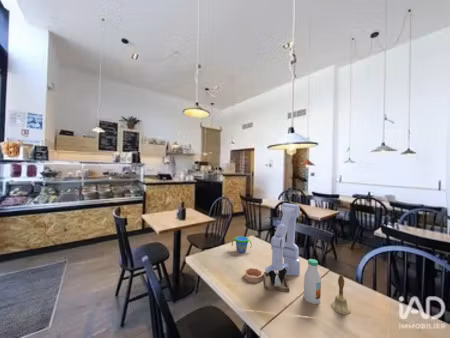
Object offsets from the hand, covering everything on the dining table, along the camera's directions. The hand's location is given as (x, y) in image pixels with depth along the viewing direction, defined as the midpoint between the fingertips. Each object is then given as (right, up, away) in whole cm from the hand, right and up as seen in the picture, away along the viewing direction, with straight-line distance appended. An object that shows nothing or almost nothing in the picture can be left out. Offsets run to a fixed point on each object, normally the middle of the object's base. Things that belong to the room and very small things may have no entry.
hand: (276, 282), depth 111 cm
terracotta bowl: (-12, -3, +9) cm, 15 cm away
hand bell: (+27, -4, -15) cm, 31 cm away
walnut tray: (0, -3, +4) cm, 5 cm away
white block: (0, -2, 0) cm, 2 cm away
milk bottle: (+15, -4, -10) cm, 18 cm away
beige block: (0, -2, +4) cm, 5 cm away
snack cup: (-16, -2, +47) cm, 50 cm away
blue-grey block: (+1, -2, +8) cm, 9 cm away
